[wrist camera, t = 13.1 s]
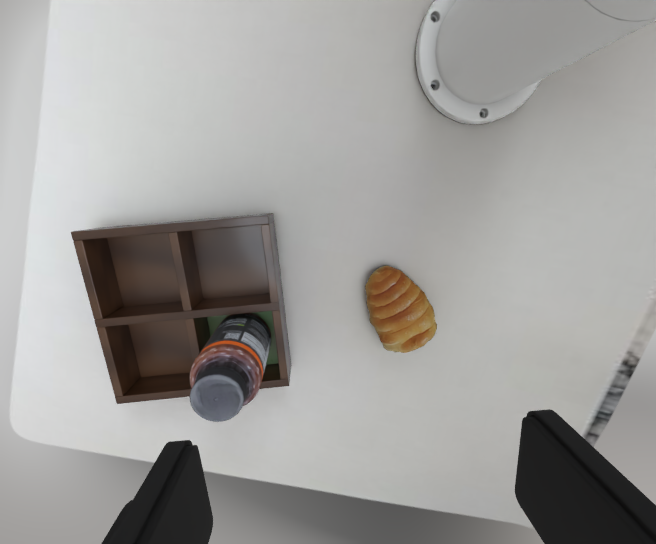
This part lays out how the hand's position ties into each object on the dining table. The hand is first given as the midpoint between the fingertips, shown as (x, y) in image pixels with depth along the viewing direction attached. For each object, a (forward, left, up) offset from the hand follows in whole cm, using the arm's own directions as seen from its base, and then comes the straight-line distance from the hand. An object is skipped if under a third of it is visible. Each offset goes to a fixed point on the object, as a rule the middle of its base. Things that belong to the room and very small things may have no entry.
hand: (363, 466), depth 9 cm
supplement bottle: (+6, -9, -25) cm, 27 cm away
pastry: (+5, +8, -26) cm, 28 cm away
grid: (+2, -13, -26) cm, 29 cm away
